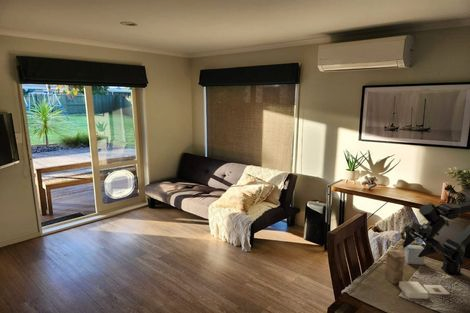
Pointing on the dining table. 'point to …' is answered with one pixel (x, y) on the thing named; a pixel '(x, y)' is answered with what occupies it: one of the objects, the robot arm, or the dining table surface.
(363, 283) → the dining table surface
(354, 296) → the dining table surface
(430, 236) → the robot arm
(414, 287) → the base block
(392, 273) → the brown tall block
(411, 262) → the medicine box
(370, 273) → the dining table surface
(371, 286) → the dining table surface
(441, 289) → the card
